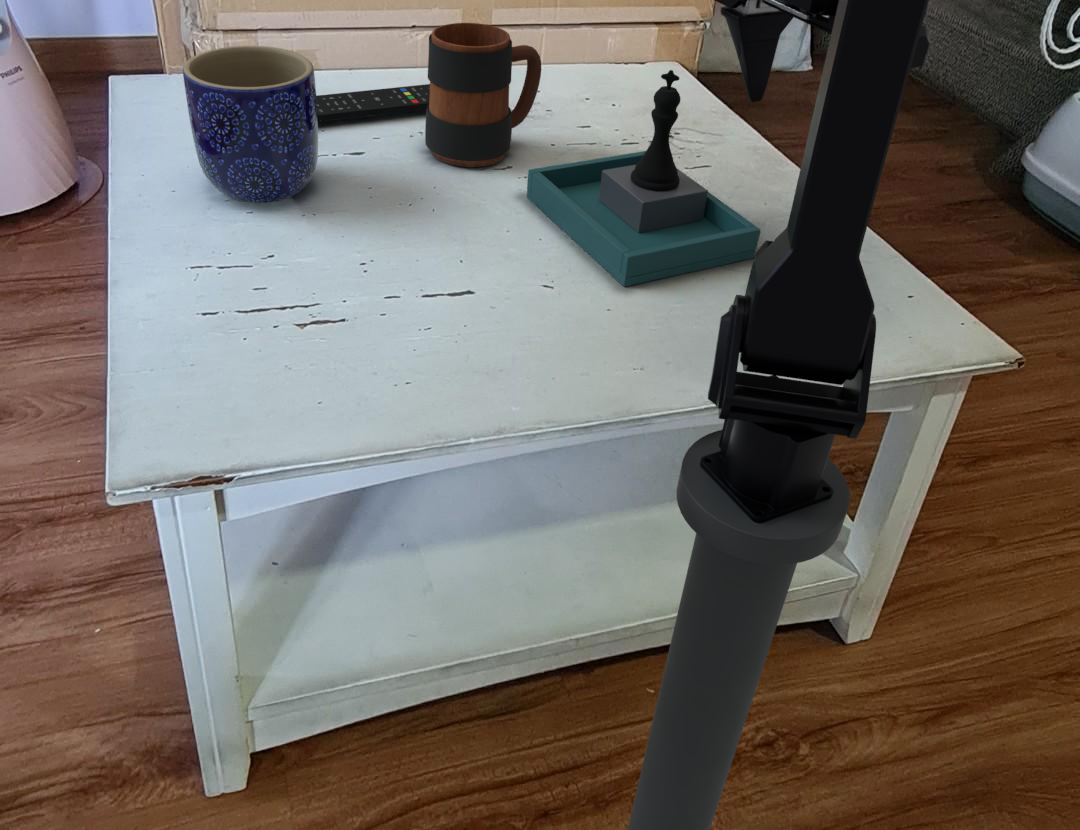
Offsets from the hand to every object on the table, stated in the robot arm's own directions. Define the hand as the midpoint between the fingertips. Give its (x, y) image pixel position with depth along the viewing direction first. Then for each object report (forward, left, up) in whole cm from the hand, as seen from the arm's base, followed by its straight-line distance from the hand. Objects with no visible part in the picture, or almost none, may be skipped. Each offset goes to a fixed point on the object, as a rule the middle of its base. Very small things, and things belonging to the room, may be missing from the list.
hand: (789, 121), depth 81 cm
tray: (+8, +8, -12) cm, 16 cm away
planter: (+27, +37, -12) cm, 47 cm away
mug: (+28, +14, -12) cm, 34 cm away
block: (+9, +6, -11) cm, 16 cm away
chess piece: (+9, +6, -8) cm, 14 cm away
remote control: (+41, +23, -12) cm, 49 cm away
